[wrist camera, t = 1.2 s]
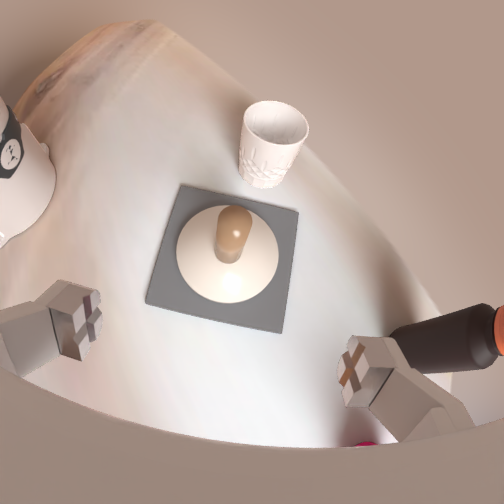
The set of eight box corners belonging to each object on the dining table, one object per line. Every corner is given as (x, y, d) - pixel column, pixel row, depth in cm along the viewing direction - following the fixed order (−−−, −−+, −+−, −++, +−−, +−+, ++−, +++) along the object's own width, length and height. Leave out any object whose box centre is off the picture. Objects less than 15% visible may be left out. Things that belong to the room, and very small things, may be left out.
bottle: (421, 372, 34) (537, 357, 16) (384, 376, 34) (507, 368, 15) (420, 326, 37) (532, 290, 18) (384, 326, 36) (502, 288, 18)
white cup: (234, 146, 42) (243, 97, 33) (285, 151, 44) (304, 104, 34) (233, 190, 40) (243, 142, 30) (290, 194, 41) (313, 149, 32)
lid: (165, 290, 33) (153, 266, 25) (191, 201, 37) (190, 157, 29) (267, 313, 34) (289, 297, 26) (282, 222, 38) (303, 184, 30)
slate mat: (145, 303, 33) (145, 302, 32) (181, 187, 39) (181, 185, 38) (280, 333, 34) (281, 333, 33) (297, 214, 40) (298, 212, 39)
